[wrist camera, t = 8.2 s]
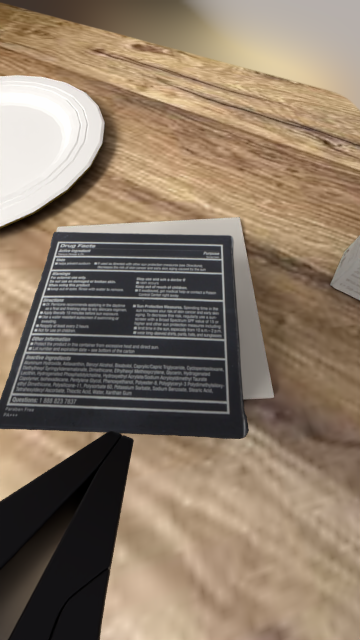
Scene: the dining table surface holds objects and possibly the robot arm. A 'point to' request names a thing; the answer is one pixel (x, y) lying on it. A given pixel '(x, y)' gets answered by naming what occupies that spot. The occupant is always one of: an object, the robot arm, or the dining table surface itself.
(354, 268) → the skincare box
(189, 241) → the small box
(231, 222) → the mat
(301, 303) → the dining table surface
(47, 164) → the plate
